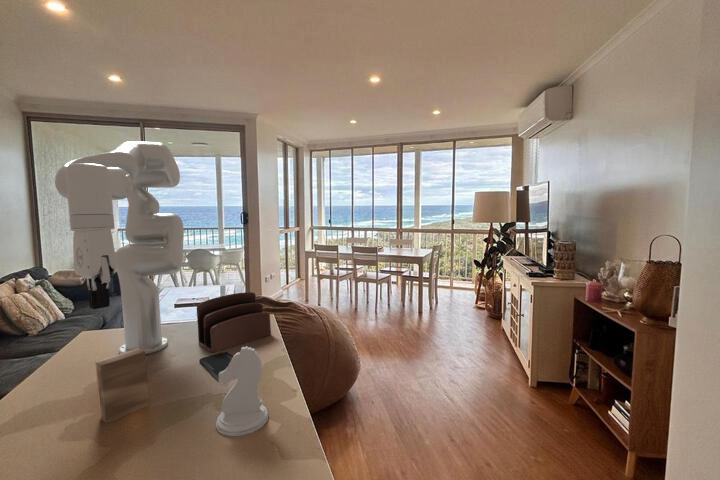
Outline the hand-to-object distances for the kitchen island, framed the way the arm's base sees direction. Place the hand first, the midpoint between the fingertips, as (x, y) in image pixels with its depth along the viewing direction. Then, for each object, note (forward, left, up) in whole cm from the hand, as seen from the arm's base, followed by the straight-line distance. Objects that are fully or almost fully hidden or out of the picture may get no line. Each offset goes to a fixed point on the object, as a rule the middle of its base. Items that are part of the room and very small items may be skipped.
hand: (99, 307), depth 78 cm
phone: (+7, +24, -22) cm, 33 cm away
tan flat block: (+9, 0, -21) cm, 23 cm away
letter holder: (-7, +38, -21) cm, 44 cm away
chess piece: (+32, +12, -21) cm, 40 cm away
